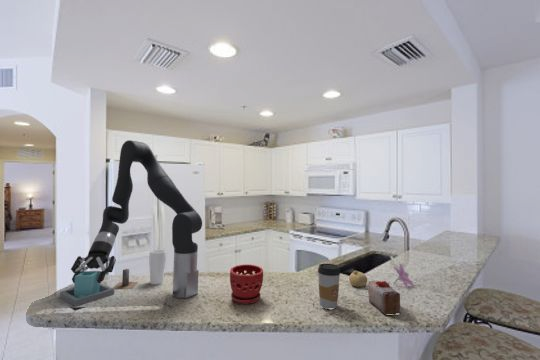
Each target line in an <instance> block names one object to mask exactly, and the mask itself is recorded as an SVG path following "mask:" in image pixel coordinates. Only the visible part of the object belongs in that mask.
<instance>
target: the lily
mask: <svg viewBox="0 0 540 360" xmlns="http://www.w3.org/2000/svg"><path fill="white" fill-rule="evenodd" d="M398 266H399V268H398V267H396V266H393V269H394V270H395V271H396V273H397V274H398V276H397V279H396V280H395V281H394V282H393V284H396V282H397V281H400V282H403V284H404V287H405V288H406V290H407V289H408V290H409V286H411V287H413V288H416V285H415V284H414V282H413V280H411V279H410V278H409V273H408V272H406V271H405V268H404V267H403V266H404V265H402V263H401V262H399V265H398Z"/></svg>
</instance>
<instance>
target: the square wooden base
mask: <svg viewBox="0 0 540 360" xmlns="http://www.w3.org/2000/svg"><path fill="white" fill-rule="evenodd" d="M121 279H122V280H121V282H120V281H119V282H118V283H116V285H114V286H113V287H112V288H113V289H114V290H132V289H133V288H134V287H136V286H137V284H138V283H139V281H130V269H129V268H125V269H123V270H122V278H121Z"/></svg>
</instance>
